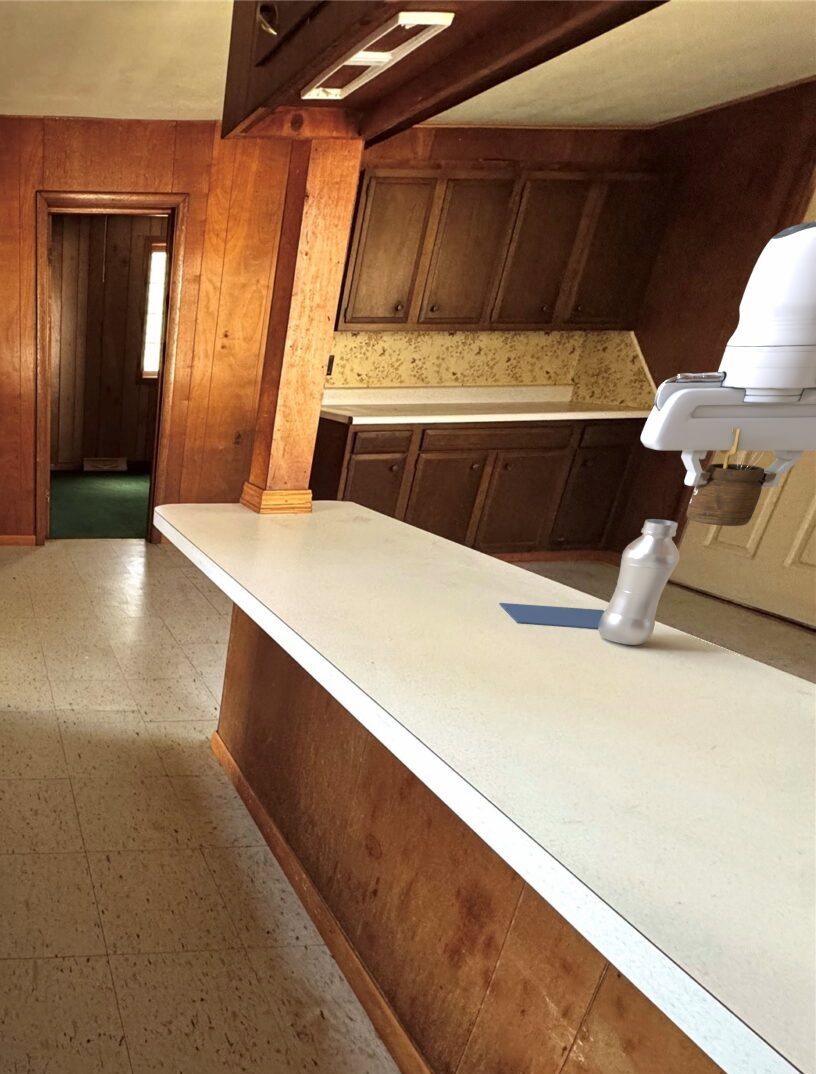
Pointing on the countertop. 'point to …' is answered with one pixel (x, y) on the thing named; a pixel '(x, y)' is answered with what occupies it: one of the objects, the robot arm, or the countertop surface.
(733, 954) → the countertop surface
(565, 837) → the countertop surface
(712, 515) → the utensil holder
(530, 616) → the mat
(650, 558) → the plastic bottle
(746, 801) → the countertop surface
